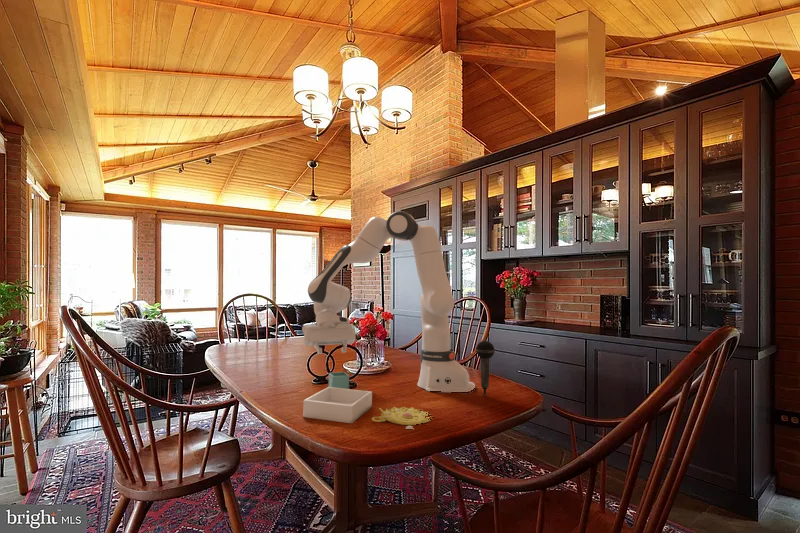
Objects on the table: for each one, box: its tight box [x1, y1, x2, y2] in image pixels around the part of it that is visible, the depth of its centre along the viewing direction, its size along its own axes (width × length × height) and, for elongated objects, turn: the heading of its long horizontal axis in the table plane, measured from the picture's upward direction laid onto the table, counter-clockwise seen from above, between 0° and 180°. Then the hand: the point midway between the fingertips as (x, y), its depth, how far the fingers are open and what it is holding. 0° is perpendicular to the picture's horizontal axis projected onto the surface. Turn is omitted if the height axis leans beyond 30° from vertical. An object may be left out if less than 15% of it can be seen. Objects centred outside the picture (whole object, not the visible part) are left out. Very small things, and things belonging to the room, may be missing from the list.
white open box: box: [302, 386, 373, 424], centre depth 127 cm, size 16×16×5 cm
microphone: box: [475, 340, 496, 395], centre depth 146 cm, size 7×7×20 cm
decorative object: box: [371, 406, 432, 430], centre depth 123 cm, size 21×2×20 cm
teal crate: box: [328, 371, 350, 389], centre depth 145 cm, size 6×6×8 cm
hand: (332, 352), depth 156 cm, fingers open, 8 cm apart
